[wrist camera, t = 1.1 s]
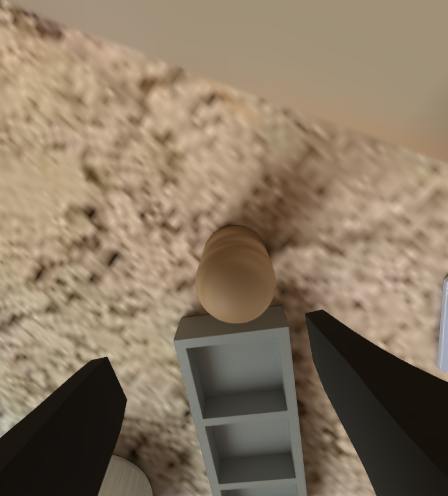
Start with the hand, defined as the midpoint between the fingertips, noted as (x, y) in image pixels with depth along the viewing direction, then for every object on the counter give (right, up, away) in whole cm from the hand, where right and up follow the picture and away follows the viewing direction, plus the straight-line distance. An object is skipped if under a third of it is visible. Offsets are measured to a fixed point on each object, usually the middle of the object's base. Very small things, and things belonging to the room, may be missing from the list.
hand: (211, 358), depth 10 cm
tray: (+3, -11, +14) cm, 18 cm away
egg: (+1, +3, +10) cm, 10 cm away
